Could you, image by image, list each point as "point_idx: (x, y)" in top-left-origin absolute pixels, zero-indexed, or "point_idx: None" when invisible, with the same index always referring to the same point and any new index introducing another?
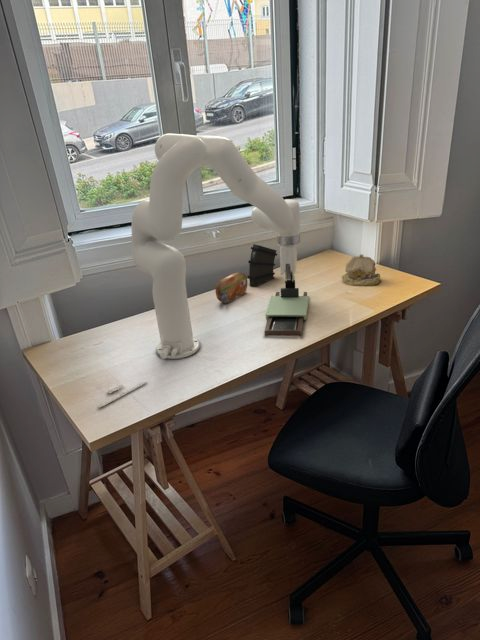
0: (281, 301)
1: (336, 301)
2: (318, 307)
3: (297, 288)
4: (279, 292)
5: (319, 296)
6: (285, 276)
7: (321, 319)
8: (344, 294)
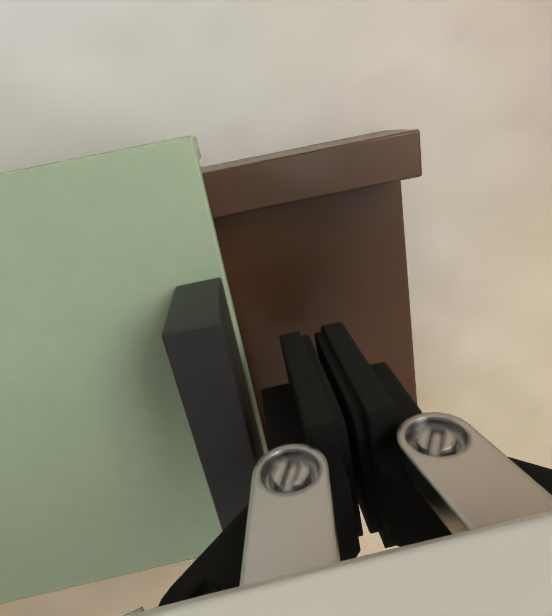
0: (54, 331)
1: None
2: None
3: None
4: (408, 178)
5: None
6: (243, 582)
7: (43, 609)
8: None
